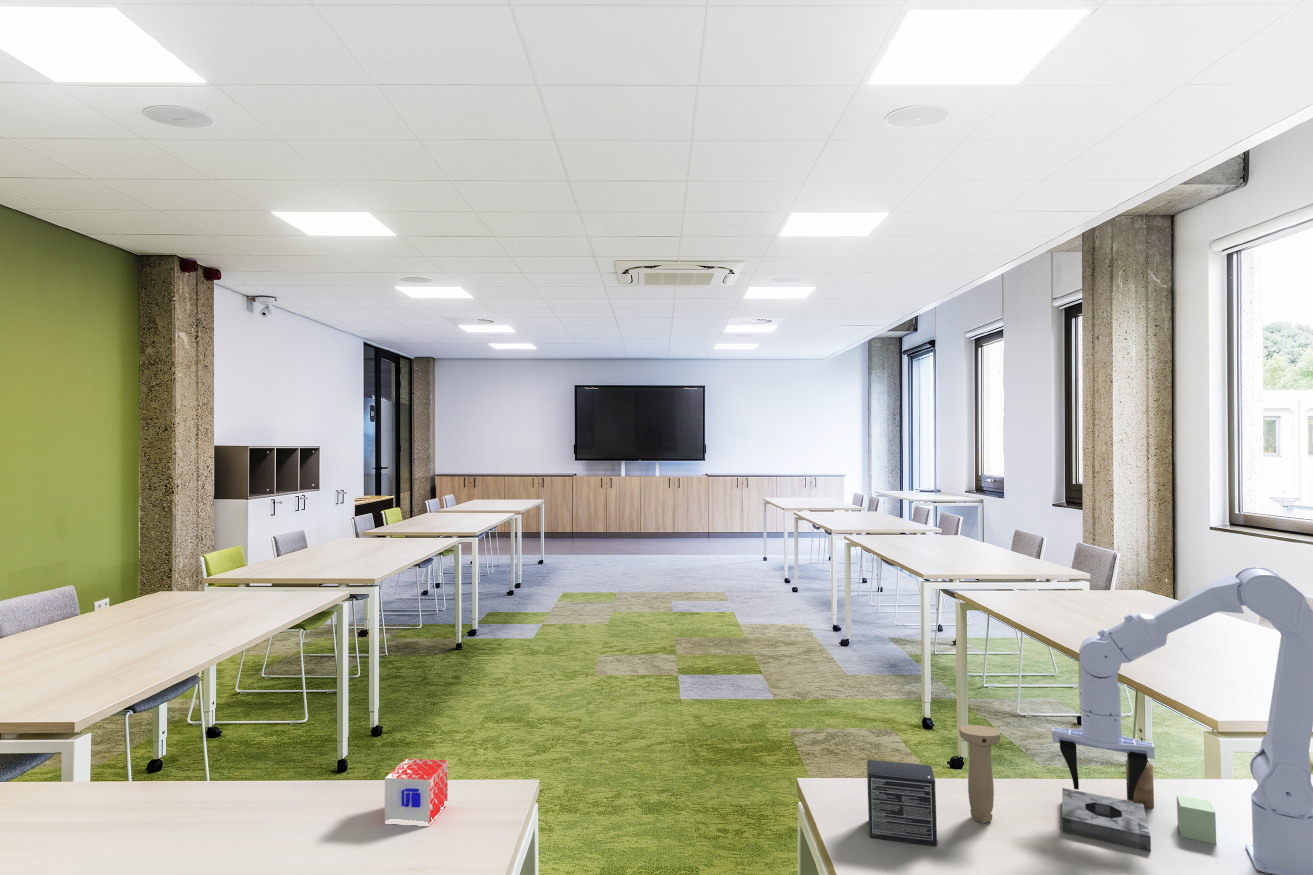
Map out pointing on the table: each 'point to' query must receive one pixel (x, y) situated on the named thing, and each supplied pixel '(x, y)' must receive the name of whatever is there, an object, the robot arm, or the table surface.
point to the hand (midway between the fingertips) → (1102, 791)
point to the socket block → (1105, 819)
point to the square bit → (1196, 819)
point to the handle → (980, 769)
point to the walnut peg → (1144, 787)
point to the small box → (902, 802)
